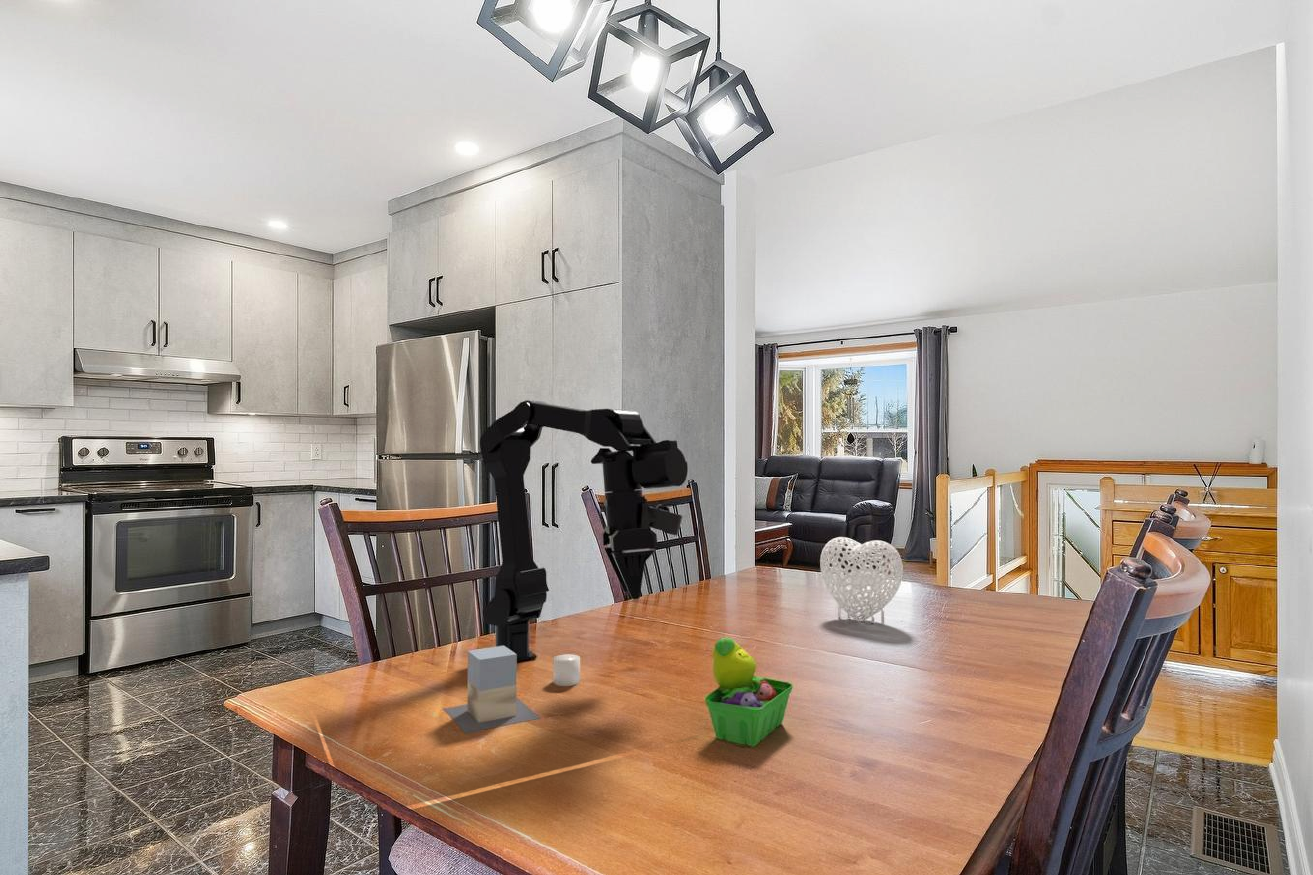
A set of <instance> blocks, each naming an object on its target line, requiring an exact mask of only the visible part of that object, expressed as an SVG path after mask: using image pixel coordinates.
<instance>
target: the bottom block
mask: <svg viewBox="0 0 1313 875" xmlns="http://www.w3.org/2000/svg"><path fill="white" fill-rule="evenodd" d="M516 697H517V685H513V686H507V687H501V688H495V689H490V690H484V691H478V690H477V689H476V688H475V687H474V686H473V685H472V684H471V683H470V682H468V681H467V699H466V700H467V703H466V704H467V711H468V712H469V713H470V714H471V715H472V716H473V717H474V718H475V719H476V720H477V721H478V722H479V723H481V722H486V721H491V720H496V719H501V718H506V717H511V716H516Z"/></svg>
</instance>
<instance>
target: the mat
mask: <svg viewBox="0 0 1313 875" xmlns="http://www.w3.org/2000/svg"><path fill="white" fill-rule="evenodd" d="M443 710H444V711H445V712H446V714H448V715H449V717H450V718H451V719H452V720H453V722H455V724H456V725H457V726H458V727H459V728H460V729H461V730H462V731H463V733H464V734H465V735H466V734H471V733H474V732H481V731H486V730H490V729H495V728H500V727H505V726H510V725H515V724H520V723H524V722H529V721H534V720H541V719H542V717H541V716H540V715H538V714H537V712H536V711H534V710H532V709H531V708H530V707H529V706H528V705H526V704H525V703H524V702H523V701H522V700H520V698H518V697H517V696H516V716H511V717H506V718H501V719H496V720H491V721H486V722H481V723H479V722H478V721H477V720H476V719H475V718H474V717H473V716H472V715H471V714H470V713H469V712H468V711H467V703H466V704H462V705H455V706H450V707H446V708H443Z"/></svg>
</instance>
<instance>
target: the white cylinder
mask: <svg viewBox="0 0 1313 875" xmlns="http://www.w3.org/2000/svg"><path fill="white" fill-rule="evenodd" d="M552 682H553V684H554V685H556V686H559V687H570V686H571V687H573V686H577V685H579V684H580V682H581V657H580V656H579V655H577V654H571V653H570V654H568V653H567V654H559V655H555V656H554V657H553V681H552Z"/></svg>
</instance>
